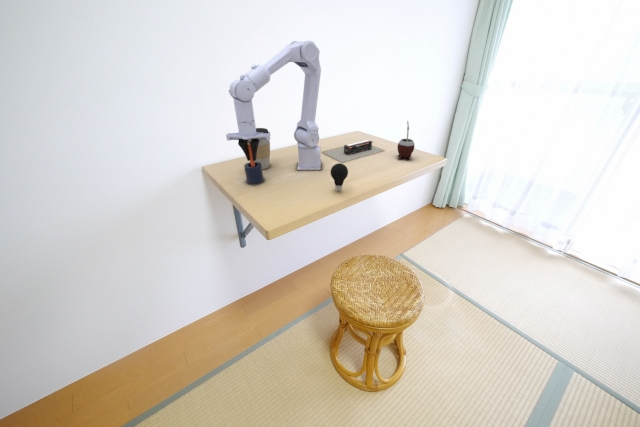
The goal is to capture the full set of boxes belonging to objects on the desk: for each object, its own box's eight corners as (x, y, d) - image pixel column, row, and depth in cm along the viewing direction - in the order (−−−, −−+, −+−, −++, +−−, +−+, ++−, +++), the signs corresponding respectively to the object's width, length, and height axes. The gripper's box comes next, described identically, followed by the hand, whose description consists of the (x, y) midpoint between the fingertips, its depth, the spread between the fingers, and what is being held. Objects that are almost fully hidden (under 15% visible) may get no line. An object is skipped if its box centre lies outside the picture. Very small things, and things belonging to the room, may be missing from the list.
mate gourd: (405, 162, 113) (411, 126, 105) (391, 156, 118) (396, 123, 110) (415, 158, 116) (422, 124, 108) (401, 153, 122) (407, 120, 114)
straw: (255, 165, 95) (251, 140, 90) (254, 166, 94) (250, 142, 89) (251, 165, 95) (247, 140, 90) (250, 166, 94) (246, 142, 89)
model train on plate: (382, 150, 125) (383, 142, 123) (341, 162, 113) (342, 152, 111) (362, 143, 135) (363, 134, 133) (323, 152, 123) (323, 143, 121)
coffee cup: (269, 171, 105) (264, 134, 97) (247, 170, 106) (241, 133, 98) (276, 163, 113) (273, 128, 104) (256, 161, 114) (251, 126, 106)
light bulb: (334, 196, 87) (335, 168, 82) (327, 188, 92) (327, 162, 87) (350, 192, 89) (351, 165, 84) (342, 185, 94) (343, 159, 88)
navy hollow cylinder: (264, 177, 100) (262, 161, 97) (261, 184, 95) (259, 168, 92) (249, 177, 100) (246, 161, 97) (245, 184, 95) (242, 168, 92)
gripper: (220, 123, 82) (228, 164, 90) (265, 123, 82) (270, 163, 90) (227, 118, 88) (234, 156, 96) (269, 118, 88) (273, 156, 96)
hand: (252, 159), depth 93 cm, fingers closed on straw, 1 cm apart
